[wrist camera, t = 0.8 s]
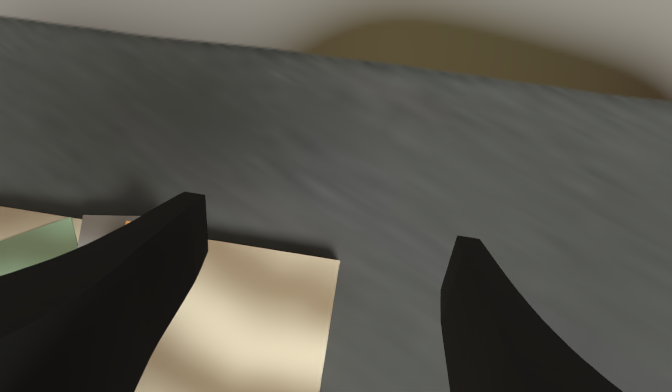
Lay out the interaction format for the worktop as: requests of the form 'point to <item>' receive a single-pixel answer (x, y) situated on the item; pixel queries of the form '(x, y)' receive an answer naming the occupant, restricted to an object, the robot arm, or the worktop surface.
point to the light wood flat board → (211, 308)
